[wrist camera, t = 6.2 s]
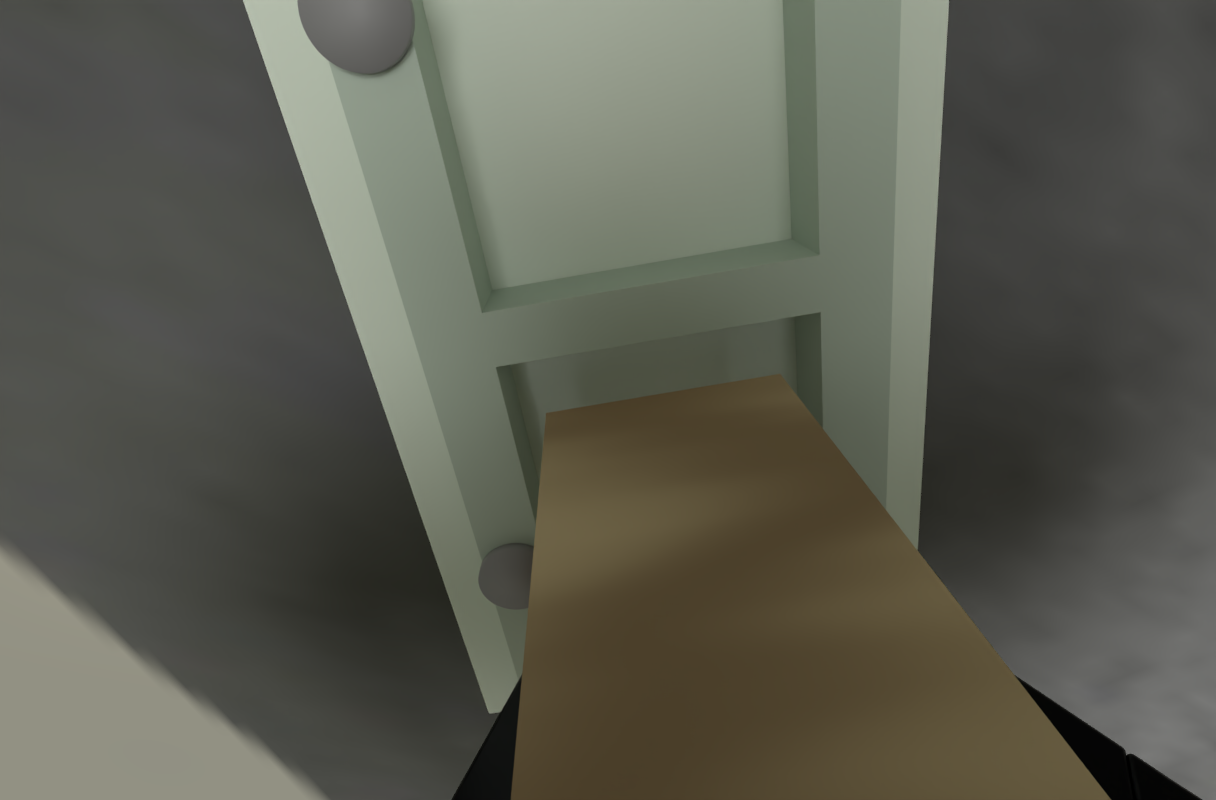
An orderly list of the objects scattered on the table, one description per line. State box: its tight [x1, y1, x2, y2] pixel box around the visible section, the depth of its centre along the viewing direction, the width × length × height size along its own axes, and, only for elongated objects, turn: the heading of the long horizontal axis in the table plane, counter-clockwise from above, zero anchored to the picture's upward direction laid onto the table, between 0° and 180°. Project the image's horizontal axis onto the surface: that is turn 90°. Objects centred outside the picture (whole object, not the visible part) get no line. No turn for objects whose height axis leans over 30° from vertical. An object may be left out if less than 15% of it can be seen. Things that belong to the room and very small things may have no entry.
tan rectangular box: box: [511, 374, 1111, 800], centre depth 7 cm, size 3×6×6 cm, turn 9°
